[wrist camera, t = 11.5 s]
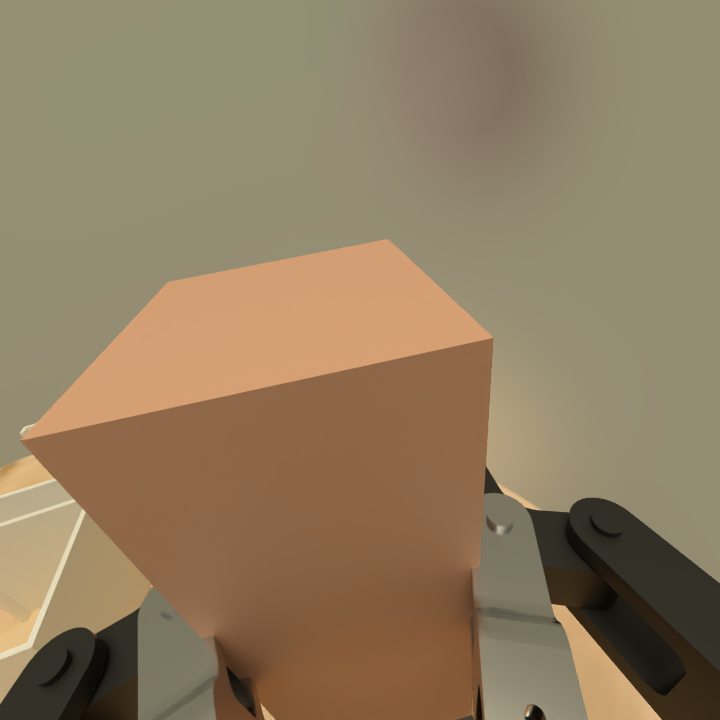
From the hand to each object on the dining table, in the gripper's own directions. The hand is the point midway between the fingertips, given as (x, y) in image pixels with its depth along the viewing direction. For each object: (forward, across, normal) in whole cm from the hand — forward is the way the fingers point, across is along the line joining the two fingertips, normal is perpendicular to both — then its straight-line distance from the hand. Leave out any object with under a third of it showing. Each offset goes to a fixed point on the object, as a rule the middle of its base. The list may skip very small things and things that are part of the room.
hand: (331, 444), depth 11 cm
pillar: (-3, 0, -8) cm, 9 cm away
